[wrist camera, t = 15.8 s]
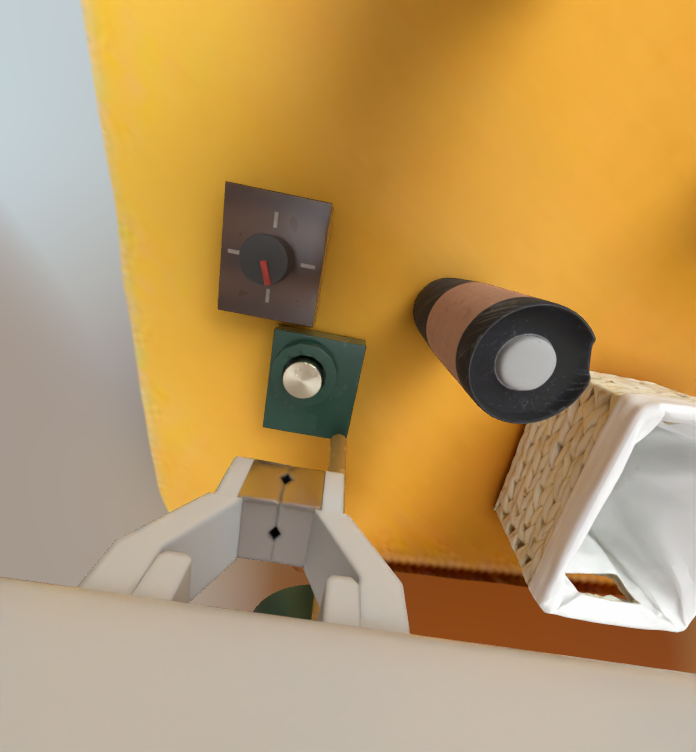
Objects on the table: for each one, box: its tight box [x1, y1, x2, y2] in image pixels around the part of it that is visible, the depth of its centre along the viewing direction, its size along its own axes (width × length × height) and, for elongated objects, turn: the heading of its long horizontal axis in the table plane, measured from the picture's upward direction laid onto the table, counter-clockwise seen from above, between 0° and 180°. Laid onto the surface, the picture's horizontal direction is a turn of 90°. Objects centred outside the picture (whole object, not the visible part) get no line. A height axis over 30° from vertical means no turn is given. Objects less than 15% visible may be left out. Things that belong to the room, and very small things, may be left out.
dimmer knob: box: [239, 234, 294, 286], centre depth 33 cm, size 4×4×4 cm
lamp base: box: [263, 324, 366, 439], centre depth 40 cm, size 12×10×4 cm
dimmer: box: [218, 181, 333, 327], centre depth 36 cm, size 12×10×3 cm
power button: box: [283, 357, 323, 398], centre depth 36 cm, size 4×4×2 cm
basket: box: [494, 371, 696, 632], centre depth 38 cm, size 24×16×15 cm
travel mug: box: [413, 278, 596, 424], centre depth 30 cm, size 8×8×20 cm
